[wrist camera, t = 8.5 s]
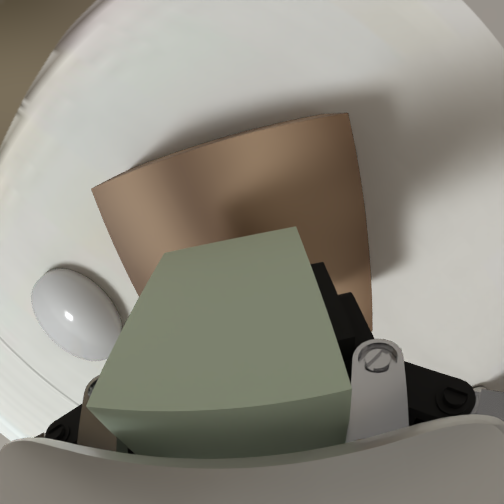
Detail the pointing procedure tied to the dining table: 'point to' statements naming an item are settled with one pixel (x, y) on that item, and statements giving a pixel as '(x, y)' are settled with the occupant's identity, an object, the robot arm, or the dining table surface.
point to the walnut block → (248, 199)
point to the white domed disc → (76, 314)
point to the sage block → (227, 356)
